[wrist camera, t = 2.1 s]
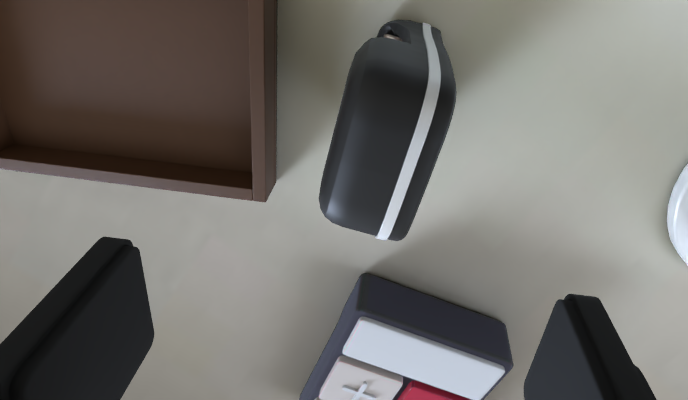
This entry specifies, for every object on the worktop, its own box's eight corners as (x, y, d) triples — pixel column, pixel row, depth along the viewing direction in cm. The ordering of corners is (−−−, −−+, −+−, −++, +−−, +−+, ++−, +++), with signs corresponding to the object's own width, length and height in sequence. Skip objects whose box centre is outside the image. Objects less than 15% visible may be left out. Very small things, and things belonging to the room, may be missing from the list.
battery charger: (371, 3, 25) (346, 58, 15) (443, 23, 25) (466, 92, 15) (339, 127, 28) (302, 238, 18) (402, 144, 28) (398, 264, 18)
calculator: (288, 438, 38) (355, 316, 29) (300, 390, 41) (362, 270, 33) (418, 481, 38) (518, 375, 30) (418, 431, 42) (508, 323, 34)
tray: (277, -40, 24) (264, -36, 22) (276, 182, 30) (266, 202, 28) (-55, -71, 25) (-99, -70, 23) (12, 149, 32) (-19, 167, 29)
